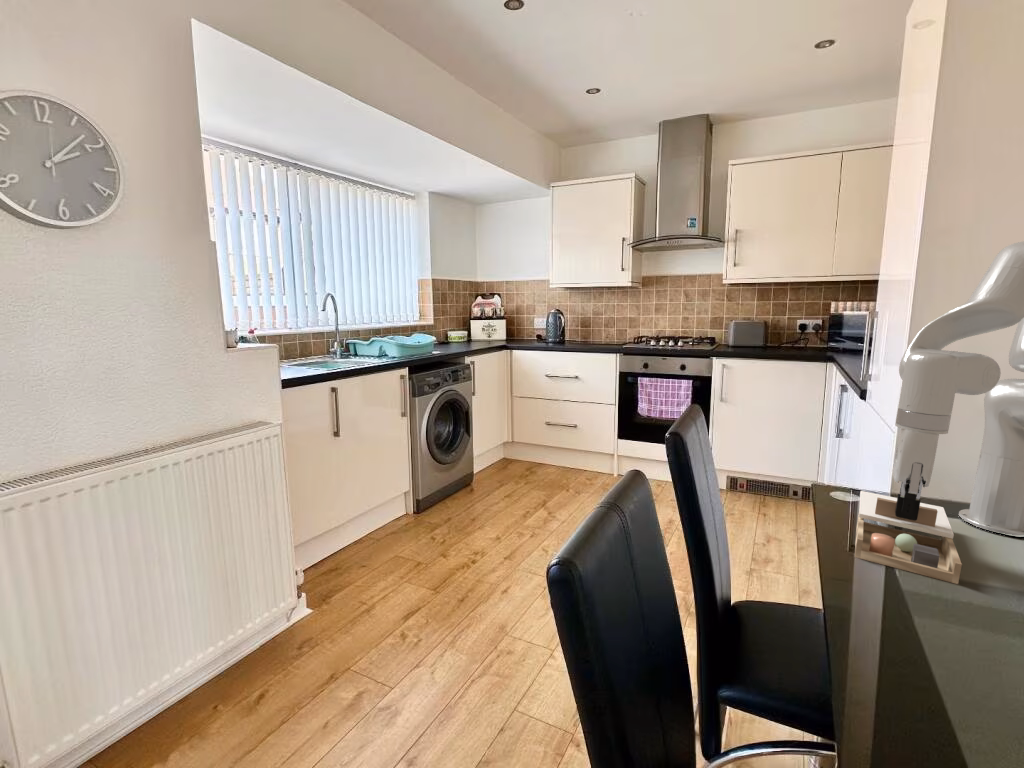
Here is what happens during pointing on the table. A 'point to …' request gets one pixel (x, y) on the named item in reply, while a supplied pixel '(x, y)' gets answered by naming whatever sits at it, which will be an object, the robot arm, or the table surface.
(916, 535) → the oak box
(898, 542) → the sage ball
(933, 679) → the table surface
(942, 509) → the sliding lid
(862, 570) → the table surface
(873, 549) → the glossy peach egg
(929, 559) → the charcoal block
